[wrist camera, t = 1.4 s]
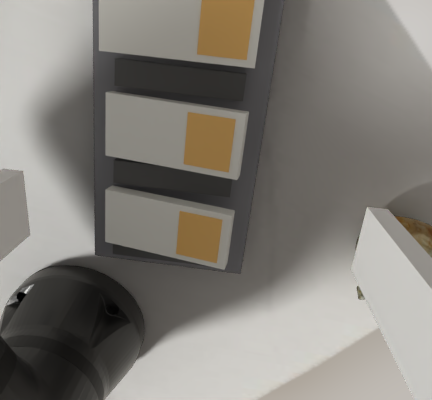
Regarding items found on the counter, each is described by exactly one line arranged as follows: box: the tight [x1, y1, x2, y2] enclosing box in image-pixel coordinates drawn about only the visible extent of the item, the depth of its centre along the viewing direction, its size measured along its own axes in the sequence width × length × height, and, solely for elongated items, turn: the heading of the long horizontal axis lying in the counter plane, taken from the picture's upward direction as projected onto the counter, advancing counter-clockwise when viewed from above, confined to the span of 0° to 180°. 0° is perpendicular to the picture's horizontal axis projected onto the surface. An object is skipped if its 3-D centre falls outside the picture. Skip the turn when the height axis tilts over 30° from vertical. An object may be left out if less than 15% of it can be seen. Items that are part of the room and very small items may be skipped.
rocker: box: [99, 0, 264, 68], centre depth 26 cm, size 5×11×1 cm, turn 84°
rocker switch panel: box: [93, 0, 284, 274], centre depth 32 cm, size 26×14×4 cm, turn 174°
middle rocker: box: [105, 91, 249, 180], centre depth 29 cm, size 5×11×1 cm, turn 84°
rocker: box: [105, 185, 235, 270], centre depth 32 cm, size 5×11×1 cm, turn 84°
